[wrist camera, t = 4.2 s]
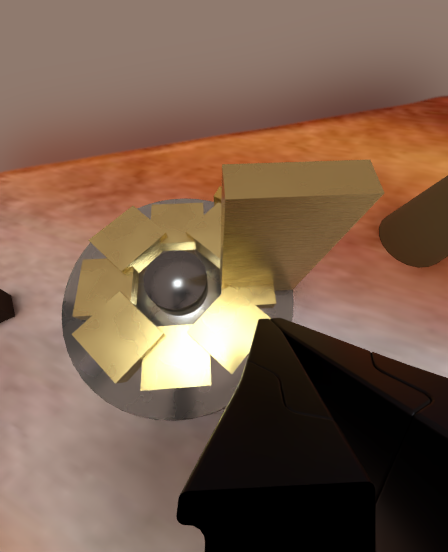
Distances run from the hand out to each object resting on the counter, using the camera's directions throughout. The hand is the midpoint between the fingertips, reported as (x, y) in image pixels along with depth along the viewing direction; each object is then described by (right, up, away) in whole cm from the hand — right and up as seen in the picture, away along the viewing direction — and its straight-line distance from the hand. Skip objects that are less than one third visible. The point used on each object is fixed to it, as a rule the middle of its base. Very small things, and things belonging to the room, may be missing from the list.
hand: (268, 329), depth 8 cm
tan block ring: (-4, +1, +9) cm, 10 cm away
